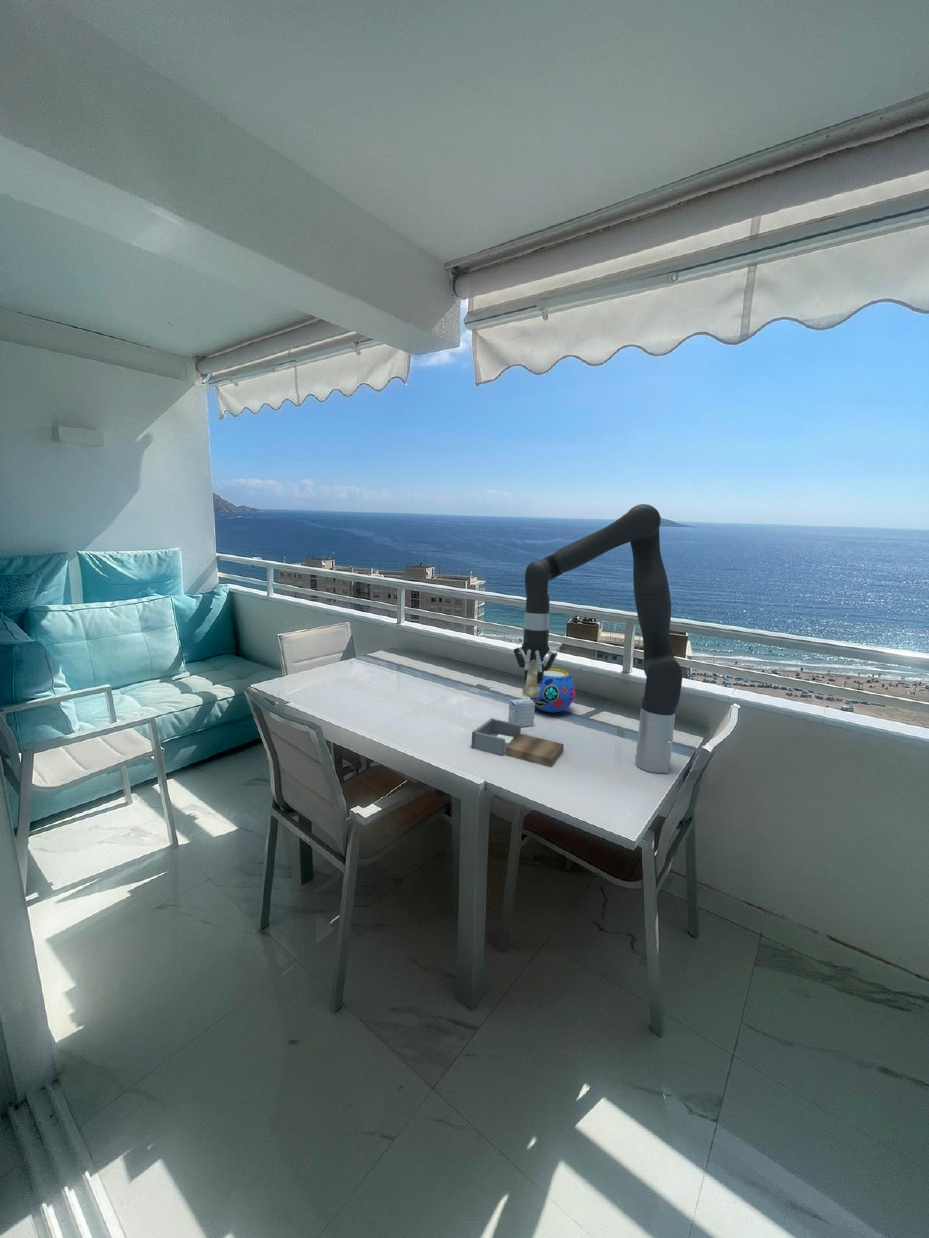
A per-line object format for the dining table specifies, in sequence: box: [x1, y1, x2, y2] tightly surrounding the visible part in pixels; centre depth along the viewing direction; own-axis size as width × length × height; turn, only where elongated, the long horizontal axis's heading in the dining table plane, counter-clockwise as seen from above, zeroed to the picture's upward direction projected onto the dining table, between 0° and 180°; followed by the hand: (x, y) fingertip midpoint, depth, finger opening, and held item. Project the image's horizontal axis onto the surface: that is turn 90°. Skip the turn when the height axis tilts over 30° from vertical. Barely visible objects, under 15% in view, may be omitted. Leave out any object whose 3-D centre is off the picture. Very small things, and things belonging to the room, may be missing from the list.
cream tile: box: [497, 734, 514, 749], centre depth 150 cm, size 5×5×2 cm
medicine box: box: [507, 698, 536, 728], centre depth 167 cm, size 8×4×9 cm, turn 111°
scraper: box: [521, 660, 541, 699], centre depth 148 cm, size 3×8×11 cm, turn 153°
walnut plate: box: [505, 733, 565, 768], centre depth 145 cm, size 14×12×2 cm
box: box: [471, 717, 522, 757], centre depth 151 cm, size 10×14×5 cm
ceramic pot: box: [529, 667, 576, 714], centre depth 182 cm, size 18×18×15 cm
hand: (533, 681), depth 148 cm, fingers closed on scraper, 3 cm apart
